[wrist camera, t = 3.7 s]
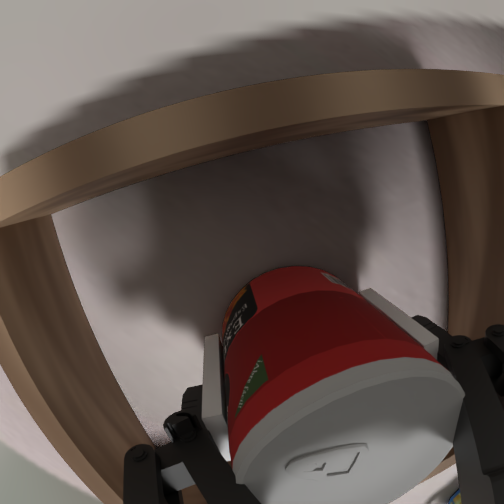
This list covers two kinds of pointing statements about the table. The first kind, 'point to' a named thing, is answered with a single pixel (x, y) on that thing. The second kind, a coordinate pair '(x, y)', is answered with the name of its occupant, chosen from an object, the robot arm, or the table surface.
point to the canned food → (329, 394)
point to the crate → (206, 149)
